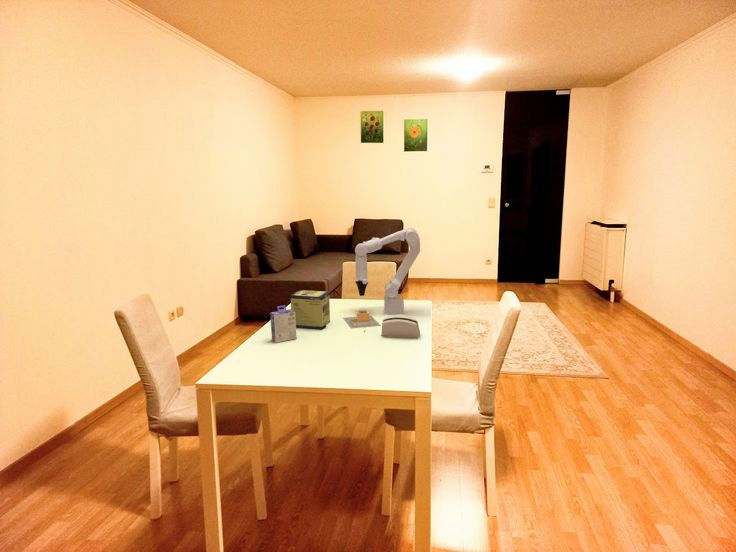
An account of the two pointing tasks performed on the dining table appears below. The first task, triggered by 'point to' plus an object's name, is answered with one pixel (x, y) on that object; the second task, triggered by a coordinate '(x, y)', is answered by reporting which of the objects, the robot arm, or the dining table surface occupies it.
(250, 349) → the dining table surface
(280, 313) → the ink cartridge box
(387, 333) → the beige rounded block
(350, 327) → the mount board
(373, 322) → the rail
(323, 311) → the protein box
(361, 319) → the module
